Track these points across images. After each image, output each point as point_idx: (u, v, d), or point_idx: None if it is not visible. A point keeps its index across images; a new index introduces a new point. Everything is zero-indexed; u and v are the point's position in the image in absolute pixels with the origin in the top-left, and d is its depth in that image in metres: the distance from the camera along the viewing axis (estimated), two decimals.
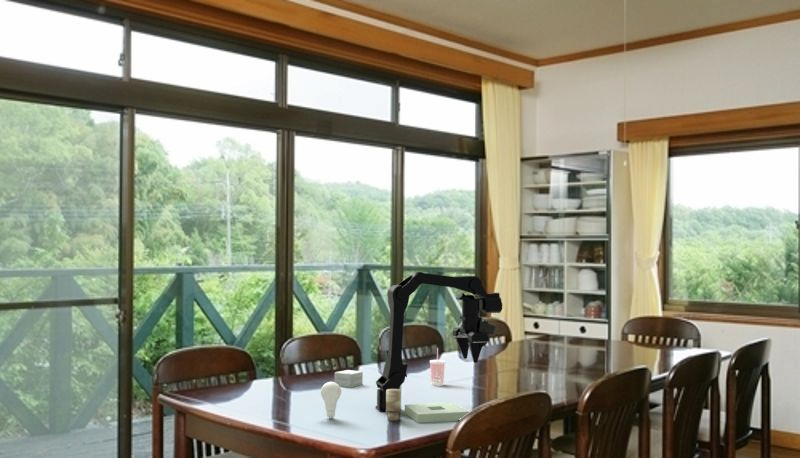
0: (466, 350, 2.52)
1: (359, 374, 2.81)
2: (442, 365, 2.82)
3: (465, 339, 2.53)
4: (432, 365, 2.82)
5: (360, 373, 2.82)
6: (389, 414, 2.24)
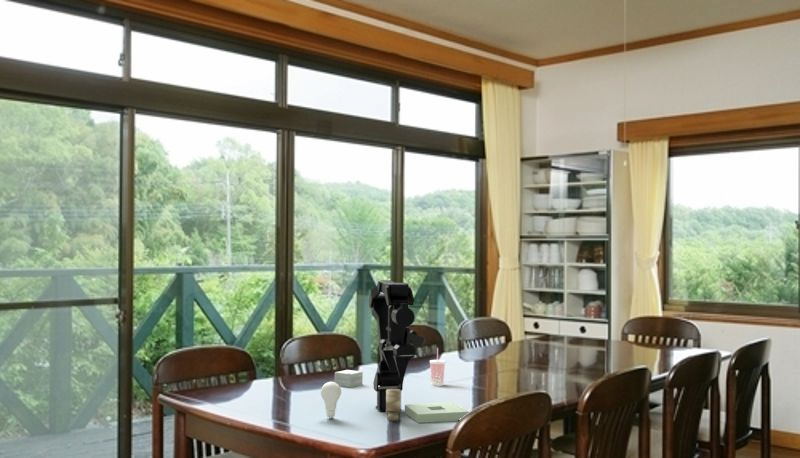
0: (393, 364, 2.31)
1: (359, 374, 2.81)
2: (442, 365, 2.82)
3: (392, 352, 2.31)
4: (432, 365, 2.82)
5: (360, 373, 2.82)
6: (389, 414, 2.24)
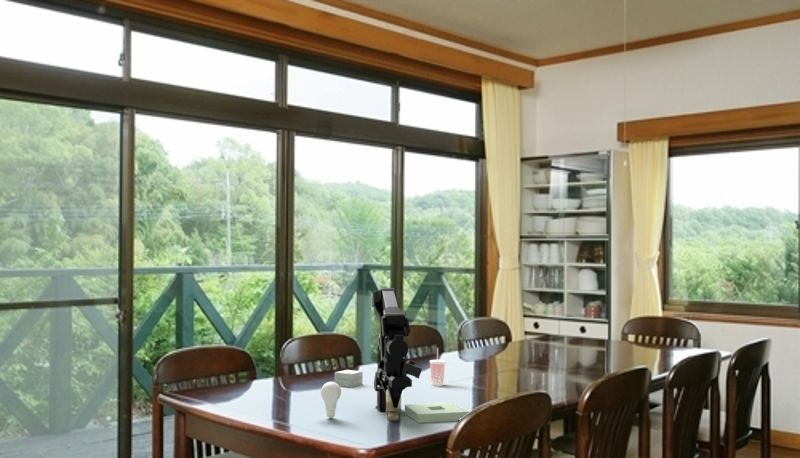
0: None
1: (359, 374, 2.82)
2: (442, 365, 2.82)
3: None
4: (432, 365, 2.82)
5: (360, 373, 2.82)
6: (389, 414, 2.24)
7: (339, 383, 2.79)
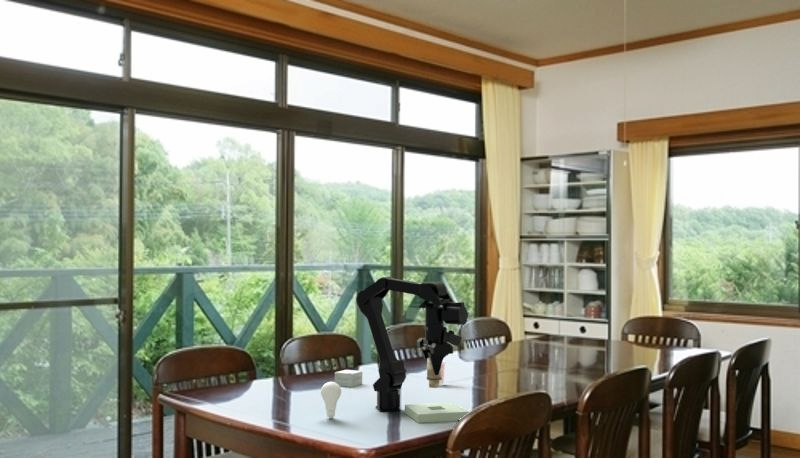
0: None
1: (359, 374, 2.82)
2: (442, 365, 2.82)
3: None
4: None
5: (360, 373, 2.83)
6: (430, 381, 2.29)
7: (339, 383, 2.79)
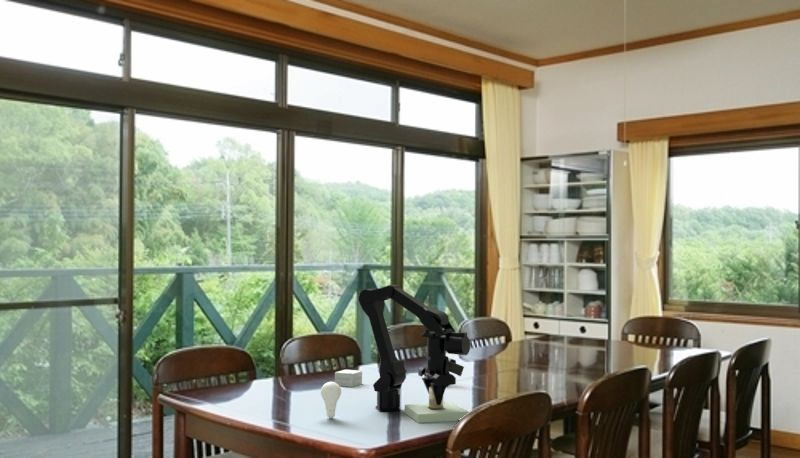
0: None
1: (359, 374, 2.82)
2: None
3: None
4: None
5: (360, 372, 2.83)
6: None
7: (340, 383, 2.80)
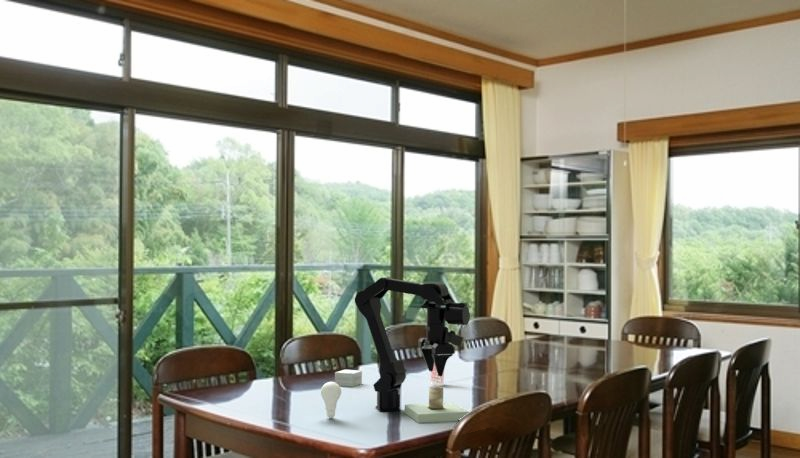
0: (432, 362, 2.36)
1: (359, 374, 2.83)
2: None
3: (431, 350, 2.37)
4: None
5: (360, 372, 2.83)
6: None
7: (340, 383, 2.80)
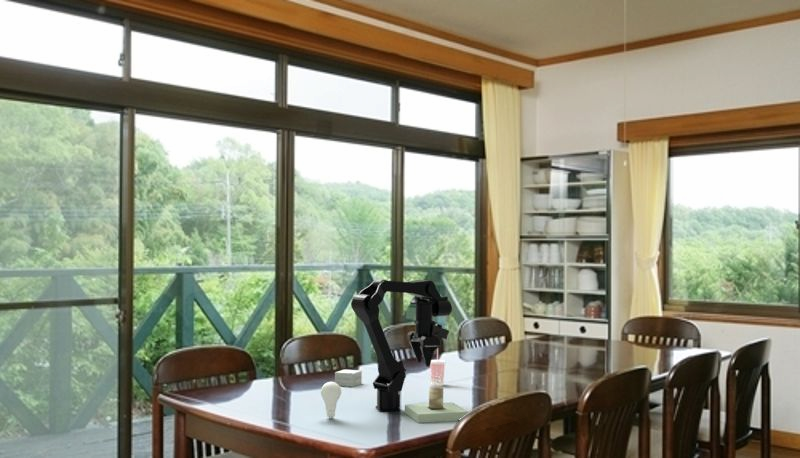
0: (420, 354, 2.54)
1: (359, 373, 2.83)
2: (442, 365, 2.82)
3: (419, 343, 2.54)
4: (432, 365, 2.82)
5: (360, 372, 2.84)
6: None
7: (340, 383, 2.80)
